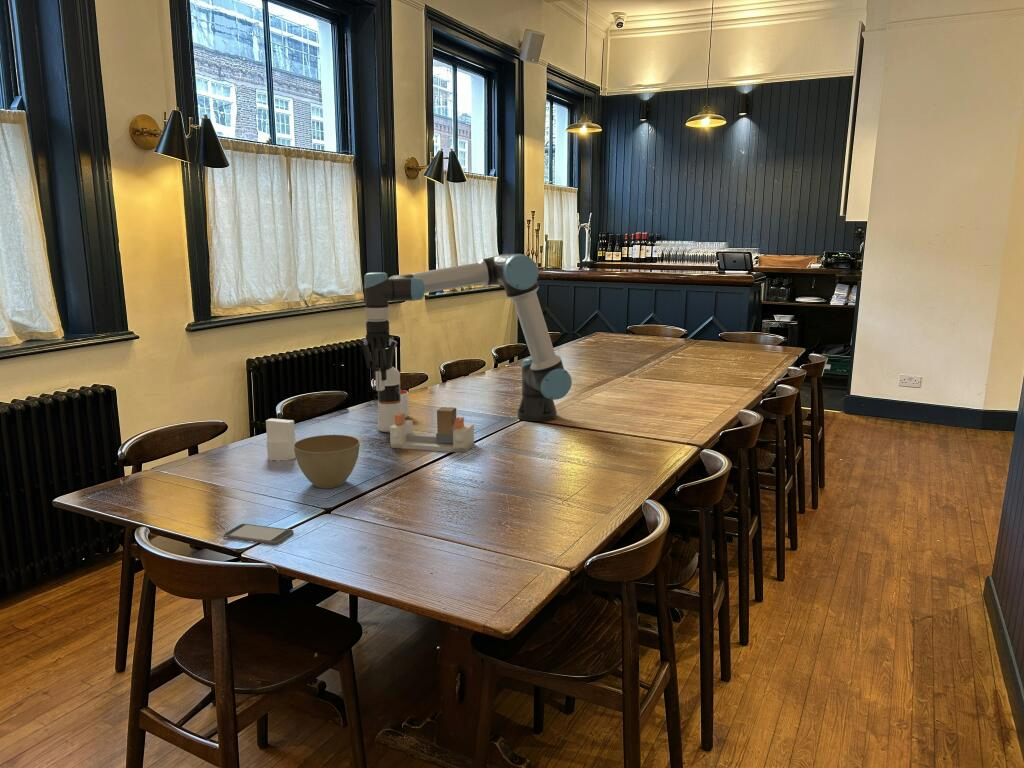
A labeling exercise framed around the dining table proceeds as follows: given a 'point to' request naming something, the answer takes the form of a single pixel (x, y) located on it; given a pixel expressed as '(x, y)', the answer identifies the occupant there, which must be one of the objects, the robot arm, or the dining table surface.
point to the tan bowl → (327, 458)
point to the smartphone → (259, 534)
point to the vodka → (389, 399)
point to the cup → (404, 402)
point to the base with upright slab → (280, 439)
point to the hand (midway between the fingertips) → (380, 389)
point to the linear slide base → (432, 438)
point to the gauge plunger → (399, 418)
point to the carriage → (445, 424)
